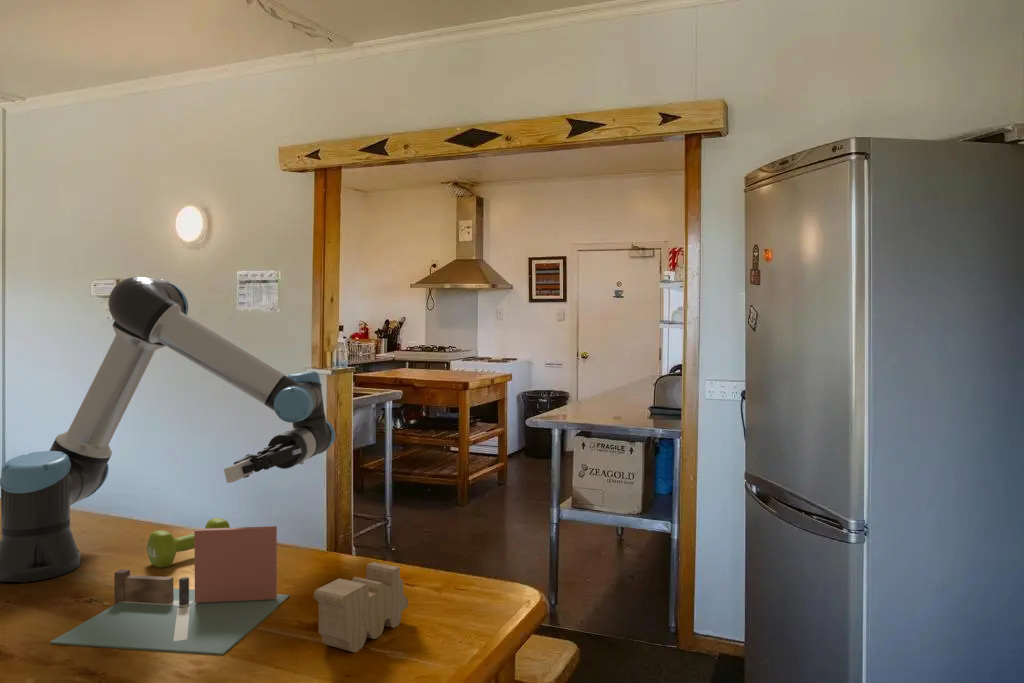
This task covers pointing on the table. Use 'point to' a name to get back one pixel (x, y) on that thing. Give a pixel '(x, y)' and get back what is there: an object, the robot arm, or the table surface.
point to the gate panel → (235, 564)
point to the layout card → (172, 625)
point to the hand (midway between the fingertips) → (228, 475)
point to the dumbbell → (174, 543)
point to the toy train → (360, 606)
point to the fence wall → (148, 588)
